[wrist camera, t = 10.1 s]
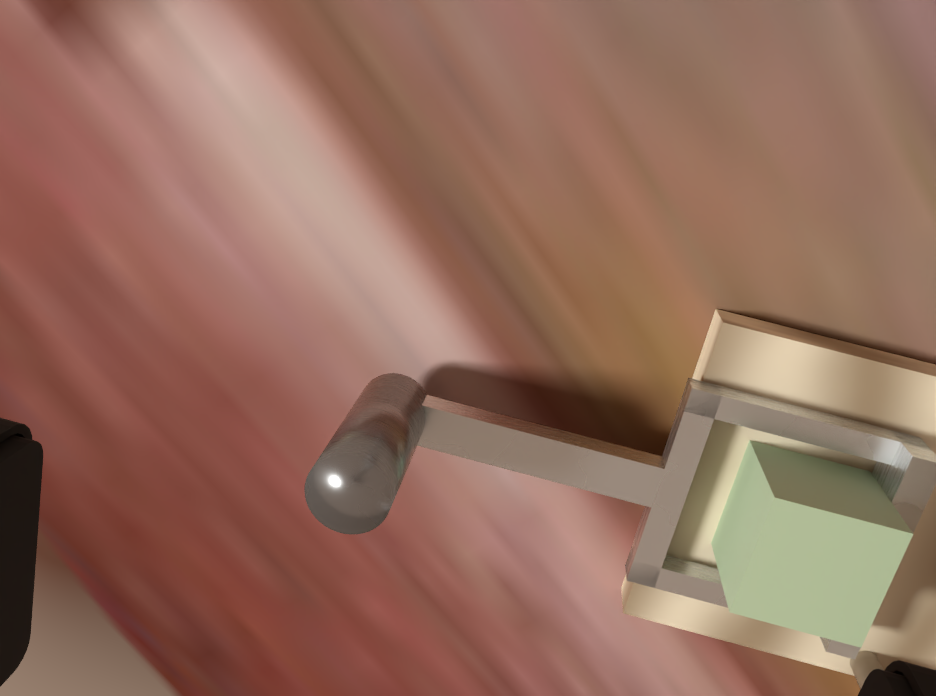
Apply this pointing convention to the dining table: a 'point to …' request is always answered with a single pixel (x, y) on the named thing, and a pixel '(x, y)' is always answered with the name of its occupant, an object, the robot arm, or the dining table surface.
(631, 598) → the tunnel
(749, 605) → the block
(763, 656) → the dining table surface
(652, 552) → the slider
